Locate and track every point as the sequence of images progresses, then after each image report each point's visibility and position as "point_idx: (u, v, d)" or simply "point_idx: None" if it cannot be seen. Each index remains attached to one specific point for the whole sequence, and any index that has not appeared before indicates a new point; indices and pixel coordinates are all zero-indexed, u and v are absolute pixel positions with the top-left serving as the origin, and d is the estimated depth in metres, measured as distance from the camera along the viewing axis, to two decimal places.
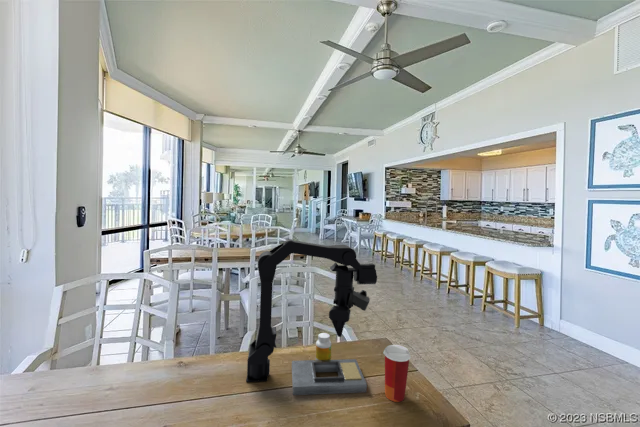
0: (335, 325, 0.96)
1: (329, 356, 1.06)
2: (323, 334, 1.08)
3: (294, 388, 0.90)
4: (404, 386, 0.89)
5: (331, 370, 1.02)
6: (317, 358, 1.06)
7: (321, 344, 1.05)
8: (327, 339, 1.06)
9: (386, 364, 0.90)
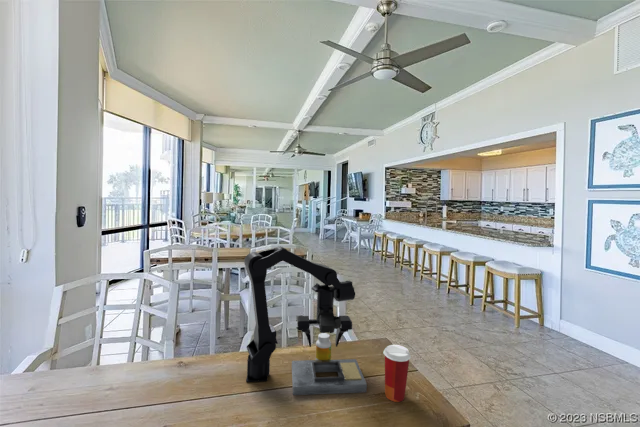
0: None
1: (329, 356, 1.06)
2: (323, 334, 1.08)
3: (294, 388, 0.90)
4: (404, 386, 0.89)
5: (331, 370, 1.02)
6: (317, 358, 1.06)
7: (321, 344, 1.05)
8: (327, 339, 1.06)
9: (386, 364, 0.90)
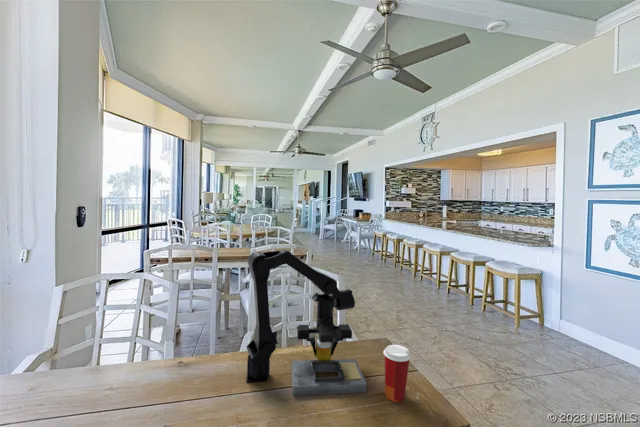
0: None
1: (329, 356, 1.06)
2: None
3: (294, 388, 0.90)
4: (404, 386, 0.89)
5: (331, 370, 1.02)
6: (317, 358, 1.06)
7: (321, 344, 1.05)
8: None
9: (386, 364, 0.90)
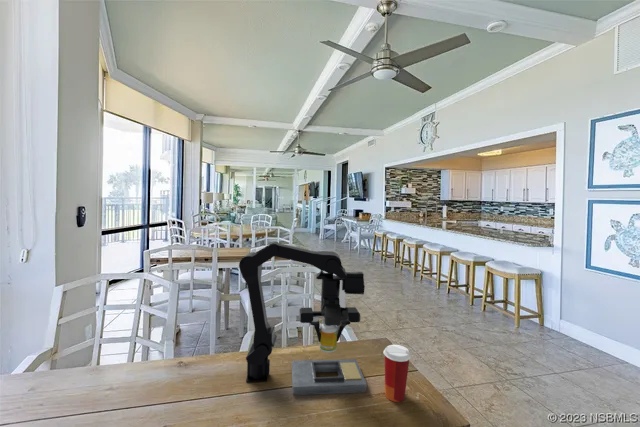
0: None
1: (335, 342, 0.96)
2: None
3: (294, 388, 0.90)
4: (404, 386, 0.89)
5: (331, 370, 1.02)
6: (321, 344, 0.96)
7: (326, 328, 0.95)
8: None
9: (386, 364, 0.90)
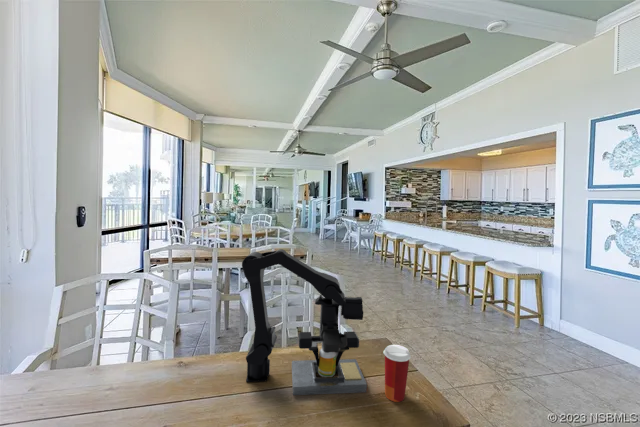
0: None
1: (334, 367, 0.96)
2: None
3: (294, 388, 0.90)
4: (404, 386, 0.89)
5: None
6: (320, 369, 0.96)
7: (325, 354, 0.95)
8: None
9: (386, 364, 0.90)
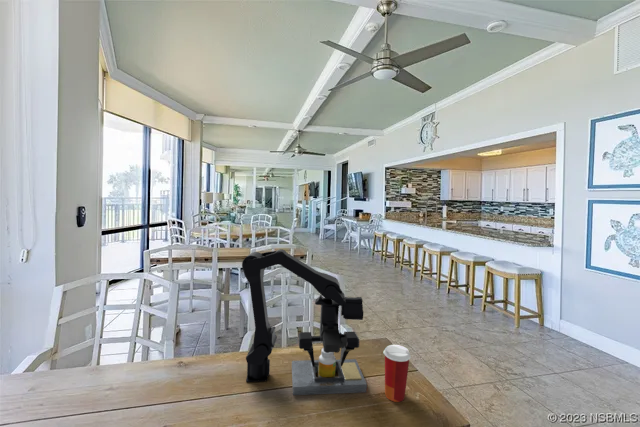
0: None
1: (333, 373, 0.96)
2: None
3: (294, 388, 0.90)
4: (404, 386, 0.89)
5: None
6: (320, 375, 0.96)
7: (324, 360, 0.96)
8: (331, 354, 0.96)
9: (386, 364, 0.90)
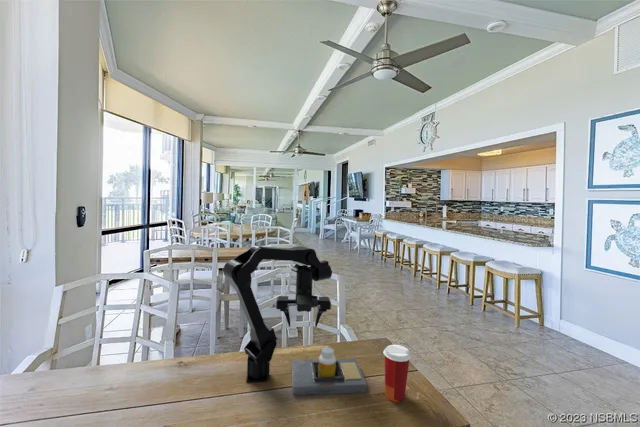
0: None
1: (333, 373, 0.96)
2: (327, 348, 0.98)
3: (294, 388, 0.90)
4: (404, 386, 0.89)
5: None
6: (320, 375, 0.96)
7: (324, 360, 0.96)
8: (331, 354, 0.96)
9: (386, 364, 0.90)
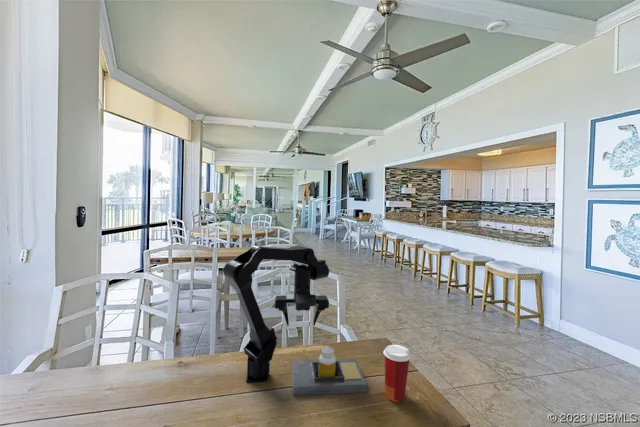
0: None
1: (333, 373, 0.96)
2: (327, 348, 0.98)
3: (294, 388, 0.90)
4: (404, 386, 0.89)
5: None
6: (320, 375, 0.96)
7: (324, 360, 0.96)
8: (331, 354, 0.96)
9: (386, 364, 0.90)
